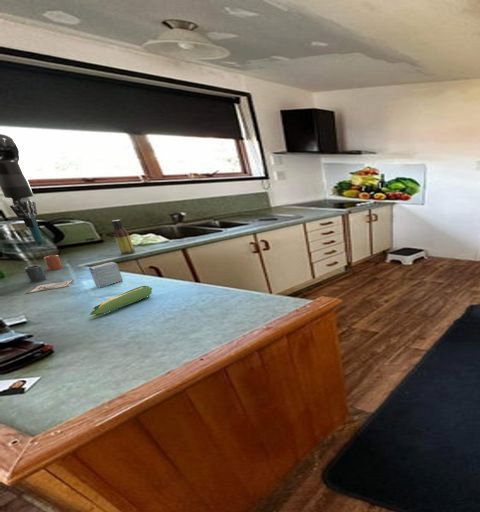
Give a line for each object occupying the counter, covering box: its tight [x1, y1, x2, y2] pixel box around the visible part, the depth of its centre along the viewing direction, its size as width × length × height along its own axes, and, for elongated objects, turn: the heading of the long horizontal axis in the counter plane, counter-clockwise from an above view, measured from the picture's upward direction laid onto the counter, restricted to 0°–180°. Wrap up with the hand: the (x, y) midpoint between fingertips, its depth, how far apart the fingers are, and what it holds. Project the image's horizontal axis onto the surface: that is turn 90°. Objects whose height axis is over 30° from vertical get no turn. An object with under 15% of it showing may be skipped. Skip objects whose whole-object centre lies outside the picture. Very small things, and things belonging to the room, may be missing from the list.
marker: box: [28, 214, 44, 245], centre depth 119 cm, size 2×2×13 cm
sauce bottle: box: [111, 219, 136, 255], centre depth 158 cm, size 7×6×20 cm
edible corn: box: [88, 285, 153, 320], centre depth 99 cm, size 5×20×5 cm, turn 162°
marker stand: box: [23, 264, 47, 284], centre depth 122 cm, size 5×5×7 cm
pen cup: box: [43, 254, 64, 271], centre depth 136 cm, size 5×5×7 cm
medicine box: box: [88, 261, 124, 288], centre depth 118 cm, size 8×4×9 cm, turn 154°
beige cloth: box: [25, 279, 76, 295], centre depth 116 cm, size 12×9×1 cm
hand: (32, 226), depth 118 cm, fingers closed on marker, 2 cm apart
